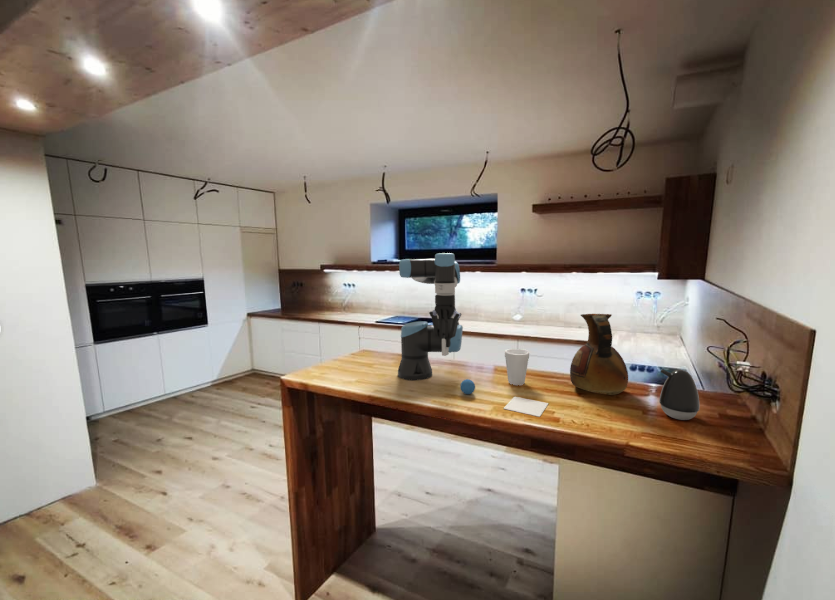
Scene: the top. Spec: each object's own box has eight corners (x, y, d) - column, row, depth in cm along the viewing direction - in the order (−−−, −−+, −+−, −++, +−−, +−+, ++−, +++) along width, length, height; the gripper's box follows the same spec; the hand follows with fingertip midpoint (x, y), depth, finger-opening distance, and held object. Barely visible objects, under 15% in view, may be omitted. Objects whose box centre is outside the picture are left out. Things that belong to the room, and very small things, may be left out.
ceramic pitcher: (612, 382, 143) (616, 309, 140) (638, 402, 123) (643, 317, 120) (562, 381, 145) (565, 309, 142) (580, 400, 125) (583, 317, 122)
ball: (457, 394, 132) (457, 380, 132) (464, 390, 137) (464, 376, 136) (471, 397, 129) (471, 383, 129) (477, 392, 134) (477, 378, 133)
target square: (503, 408, 120) (503, 408, 120) (514, 396, 130) (514, 396, 130) (539, 417, 113) (539, 416, 113) (548, 403, 123) (548, 403, 123)
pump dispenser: (659, 406, 119) (662, 363, 118) (698, 415, 113) (702, 369, 111) (656, 417, 112) (659, 370, 110) (697, 427, 105) (702, 377, 103)
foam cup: (531, 386, 139) (532, 354, 138) (507, 387, 140) (508, 355, 138) (524, 378, 149) (525, 348, 147) (502, 378, 149) (502, 348, 148)
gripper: (425, 294, 134) (425, 354, 137) (455, 295, 127) (456, 359, 130) (435, 292, 141) (435, 350, 143) (464, 294, 133) (464, 354, 136)
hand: (445, 354), depth 137 cm, fingers closed
